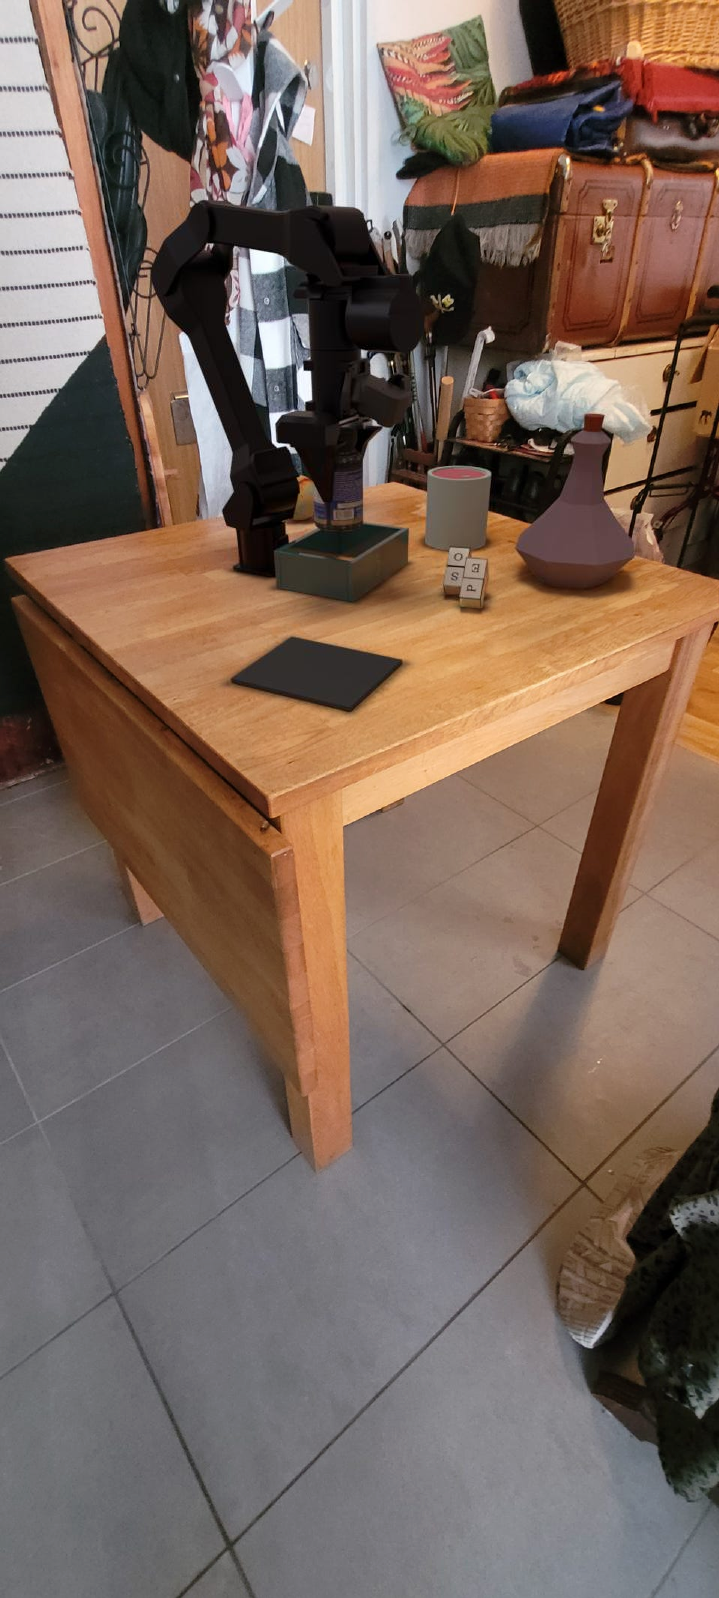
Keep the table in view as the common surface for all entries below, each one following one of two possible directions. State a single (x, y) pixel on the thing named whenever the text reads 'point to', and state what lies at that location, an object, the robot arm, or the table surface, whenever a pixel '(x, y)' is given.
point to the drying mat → (318, 673)
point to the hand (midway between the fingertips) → (339, 495)
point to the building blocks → (466, 577)
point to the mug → (457, 507)
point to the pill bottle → (343, 489)
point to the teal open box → (321, 574)
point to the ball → (304, 499)
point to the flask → (578, 523)
